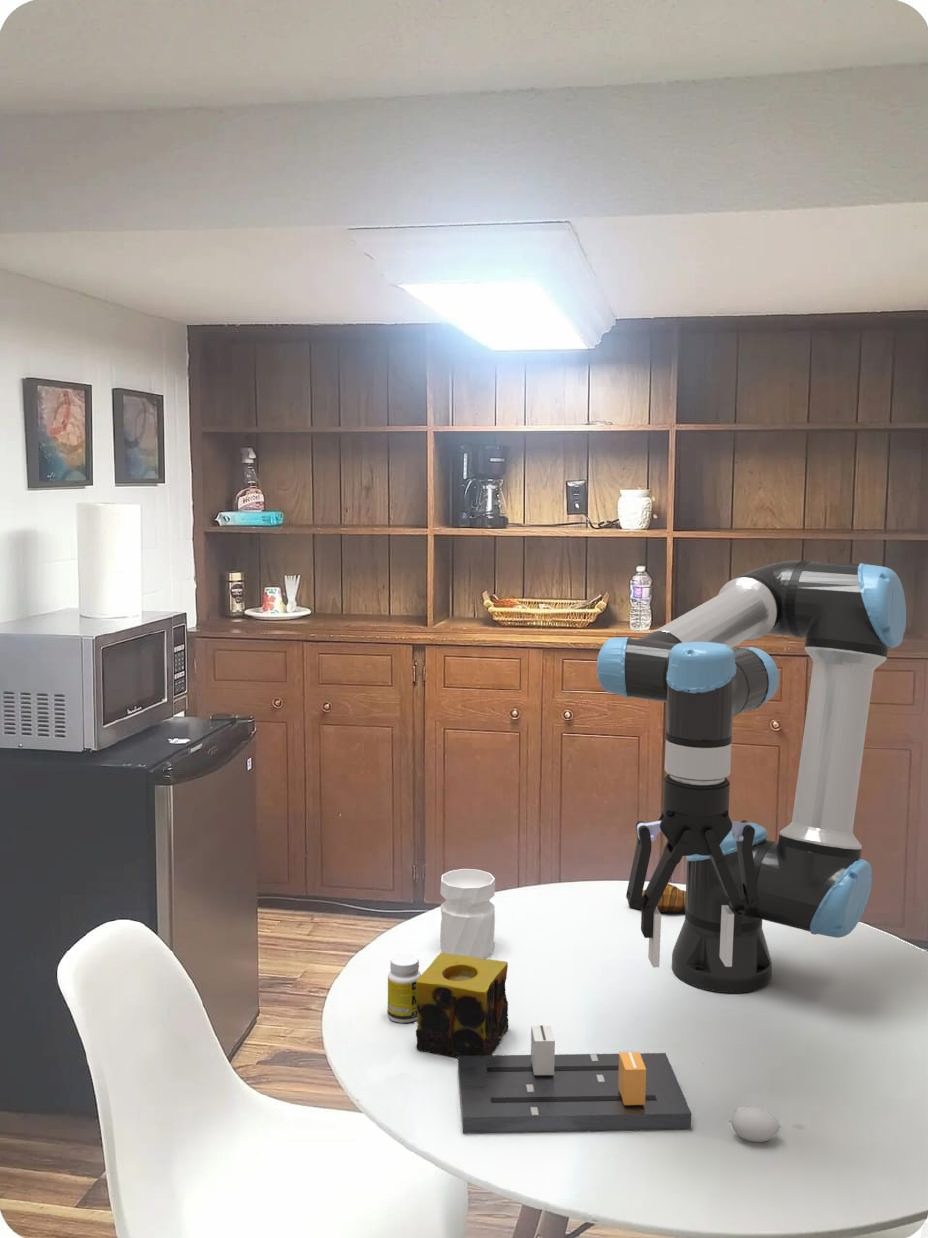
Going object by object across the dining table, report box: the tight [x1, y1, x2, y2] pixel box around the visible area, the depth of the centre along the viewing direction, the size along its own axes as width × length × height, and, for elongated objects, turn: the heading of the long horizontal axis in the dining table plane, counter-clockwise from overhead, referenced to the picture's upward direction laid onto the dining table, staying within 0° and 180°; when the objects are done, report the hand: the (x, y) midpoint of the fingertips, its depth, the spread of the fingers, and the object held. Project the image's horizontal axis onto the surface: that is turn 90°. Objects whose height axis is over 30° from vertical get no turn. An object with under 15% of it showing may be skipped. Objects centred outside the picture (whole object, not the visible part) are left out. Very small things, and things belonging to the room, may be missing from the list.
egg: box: [728, 1105, 782, 1143], centre depth 134 cm, size 4×6×4 cm, turn 80°
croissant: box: [627, 883, 686, 914], centre depth 202 cm, size 14×7×5 cm, turn 83°
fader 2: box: [618, 1051, 646, 1105], centre depth 138 cm, size 2×4×5 cm, turn 2°
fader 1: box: [530, 1024, 556, 1075], centre depth 145 cm, size 2×4×5 cm, turn 3°
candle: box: [415, 952, 510, 1058], centre depth 155 cm, size 10×10×10 cm
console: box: [457, 1052, 693, 1134], centre depth 142 cm, size 27×14×2 cm, turn 93°
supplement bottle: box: [387, 953, 422, 1024], centre depth 162 cm, size 5×5×8 cm
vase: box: [439, 868, 496, 959], centre depth 184 cm, size 9×9×12 cm
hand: (689, 961), depth 136 cm, fingers open, 8 cm apart
